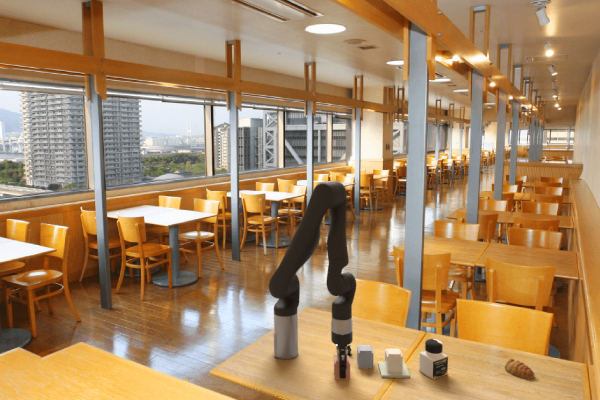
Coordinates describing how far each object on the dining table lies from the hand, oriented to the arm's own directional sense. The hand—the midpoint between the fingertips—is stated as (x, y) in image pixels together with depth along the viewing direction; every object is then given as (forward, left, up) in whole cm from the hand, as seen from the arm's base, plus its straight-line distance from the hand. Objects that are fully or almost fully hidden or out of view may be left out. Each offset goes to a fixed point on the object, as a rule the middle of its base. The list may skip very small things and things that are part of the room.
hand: (342, 373), depth 163 cm
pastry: (+63, +3, -1) cm, 64 cm away
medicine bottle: (+33, +2, -1) cm, 33 cm away
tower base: (+19, +4, -1) cm, 19 cm away
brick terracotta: (0, 0, -1) cm, 1 cm away
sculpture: (+3, +16, -1) cm, 16 cm away
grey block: (+9, +8, -1) cm, 12 cm away
